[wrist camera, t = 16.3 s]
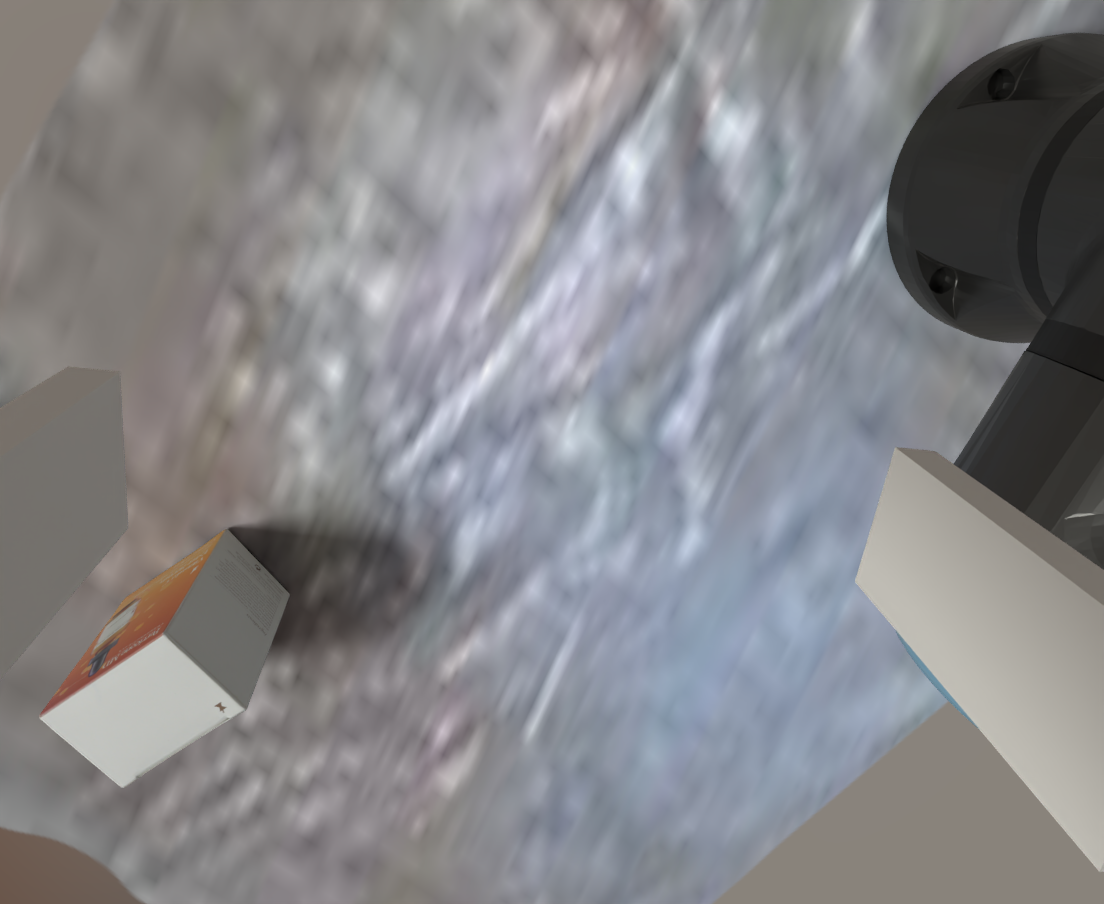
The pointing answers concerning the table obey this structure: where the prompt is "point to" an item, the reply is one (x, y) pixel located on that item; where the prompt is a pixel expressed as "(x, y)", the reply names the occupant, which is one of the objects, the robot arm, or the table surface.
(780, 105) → the table surface
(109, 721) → the small box
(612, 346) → the table surface
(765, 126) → the table surface
